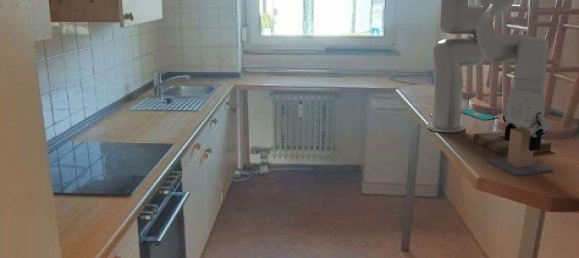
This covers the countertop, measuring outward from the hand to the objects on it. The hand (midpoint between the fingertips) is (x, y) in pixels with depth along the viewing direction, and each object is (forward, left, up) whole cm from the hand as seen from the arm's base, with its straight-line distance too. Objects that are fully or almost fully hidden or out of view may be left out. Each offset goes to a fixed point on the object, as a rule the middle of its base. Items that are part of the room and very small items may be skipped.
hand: (521, 144), depth 139 cm
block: (0, 0, -6) cm, 6 cm away
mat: (0, 0, -6) cm, 6 cm away
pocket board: (-16, +10, -6) cm, 20 cm away
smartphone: (-52, +24, -7) cm, 58 cm away
